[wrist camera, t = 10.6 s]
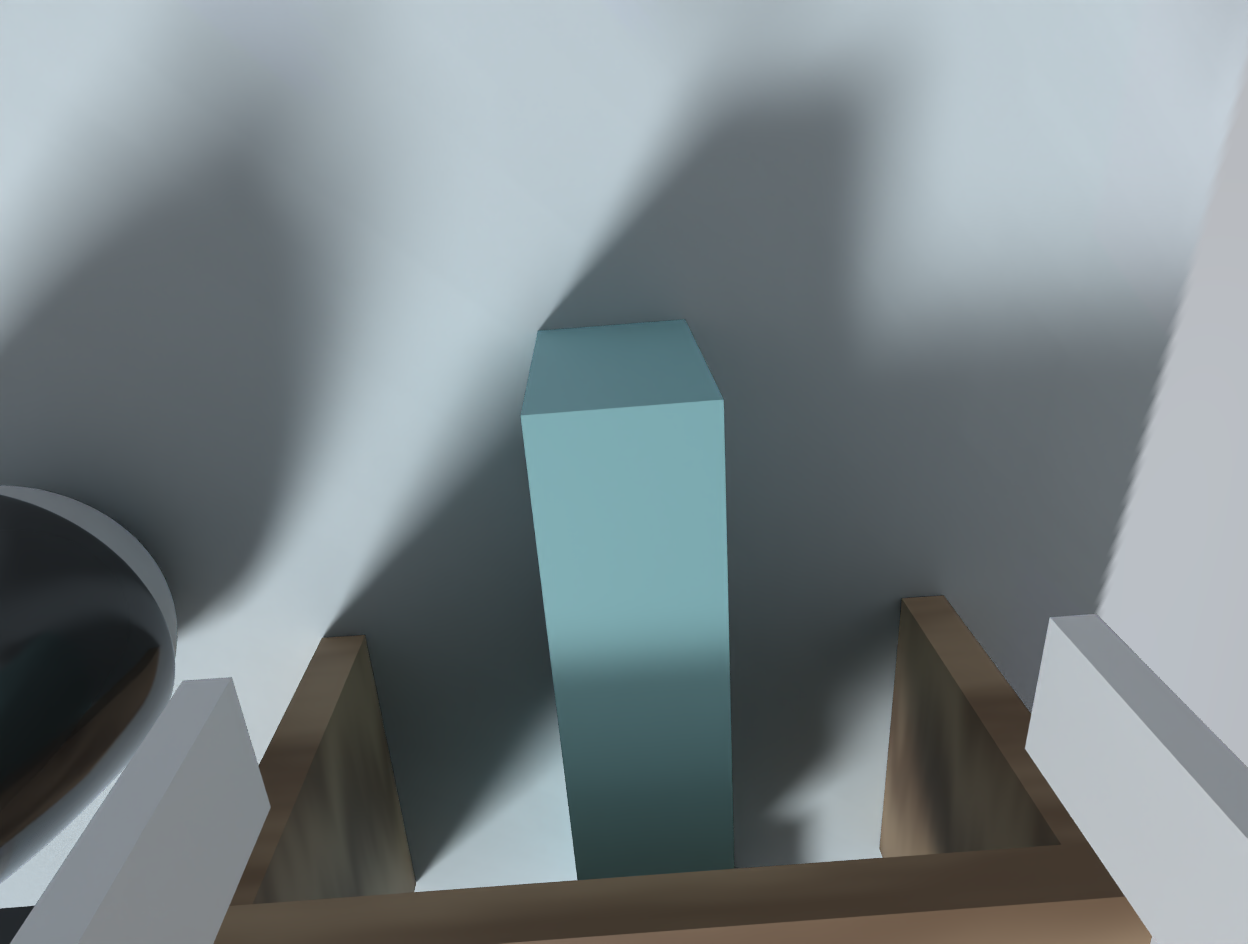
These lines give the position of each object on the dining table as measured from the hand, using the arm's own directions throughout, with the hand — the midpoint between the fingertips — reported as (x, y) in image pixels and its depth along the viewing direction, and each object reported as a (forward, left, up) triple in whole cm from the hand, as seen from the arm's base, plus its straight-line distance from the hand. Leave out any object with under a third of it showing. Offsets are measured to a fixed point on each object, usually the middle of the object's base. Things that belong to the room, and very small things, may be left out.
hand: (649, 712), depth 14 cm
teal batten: (+8, 0, -15) cm, 17 cm away
